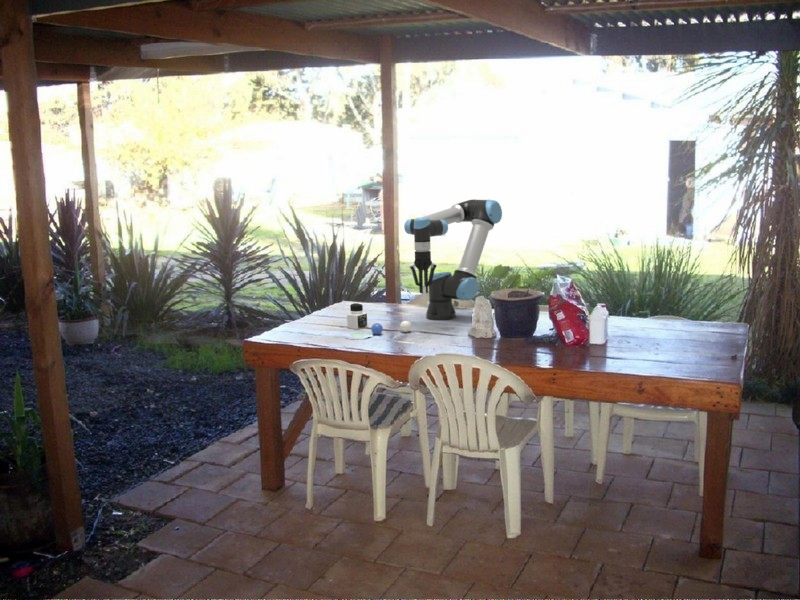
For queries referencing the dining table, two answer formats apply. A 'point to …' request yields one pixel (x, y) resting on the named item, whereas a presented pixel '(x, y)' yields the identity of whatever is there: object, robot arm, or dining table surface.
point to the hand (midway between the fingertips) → (423, 299)
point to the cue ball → (405, 326)
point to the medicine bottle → (356, 317)
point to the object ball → (376, 328)
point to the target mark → (360, 335)
